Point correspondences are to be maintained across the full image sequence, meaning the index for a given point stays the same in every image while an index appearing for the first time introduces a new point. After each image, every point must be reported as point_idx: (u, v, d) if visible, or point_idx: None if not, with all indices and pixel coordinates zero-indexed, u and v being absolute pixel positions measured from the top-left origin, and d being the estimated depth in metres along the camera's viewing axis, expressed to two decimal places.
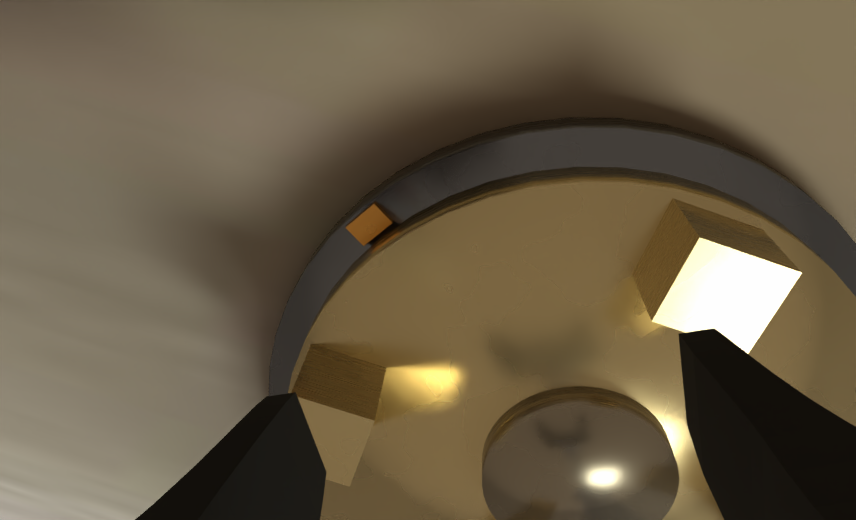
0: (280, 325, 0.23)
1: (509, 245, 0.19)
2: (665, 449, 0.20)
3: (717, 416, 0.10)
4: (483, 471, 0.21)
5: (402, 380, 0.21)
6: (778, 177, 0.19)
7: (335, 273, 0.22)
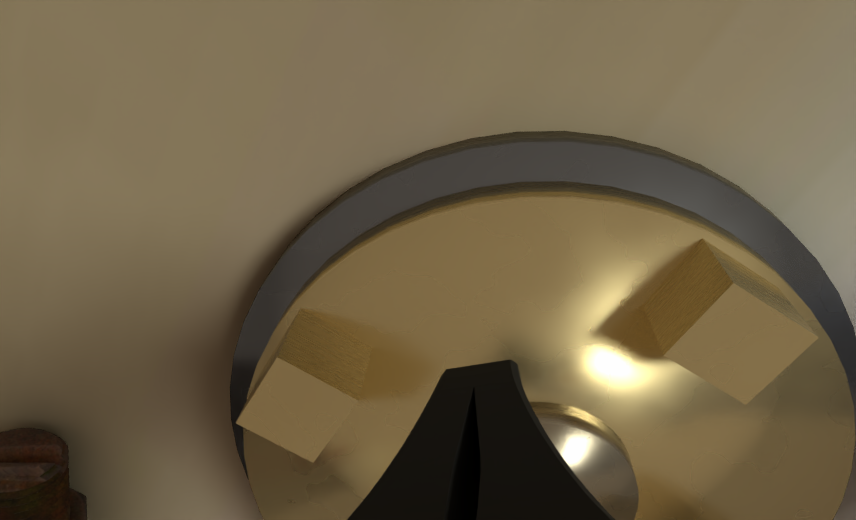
0: None
1: (291, 480, 0.23)
2: None
3: None
4: None
5: None
6: (290, 250, 0.21)
7: None
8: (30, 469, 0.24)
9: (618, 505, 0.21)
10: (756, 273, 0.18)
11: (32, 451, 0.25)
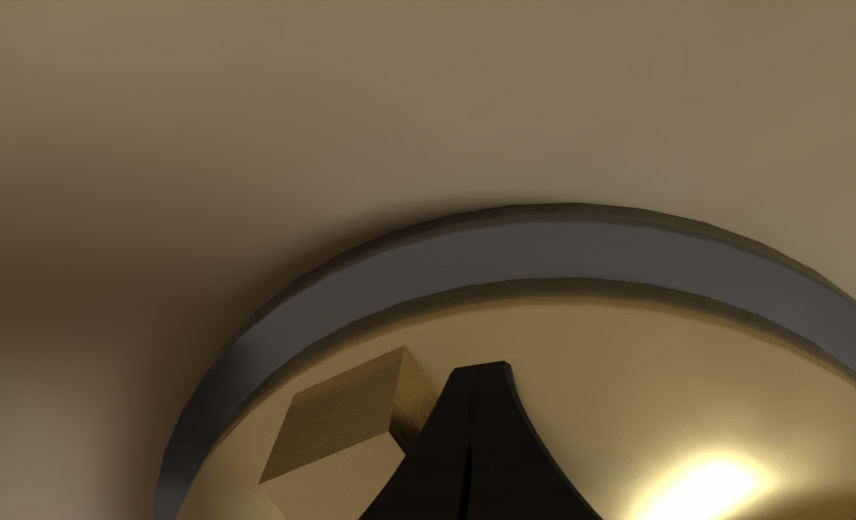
0: None
1: None
2: None
3: None
4: None
5: None
6: (408, 249, 0.14)
7: None
8: None
9: None
10: None
11: None
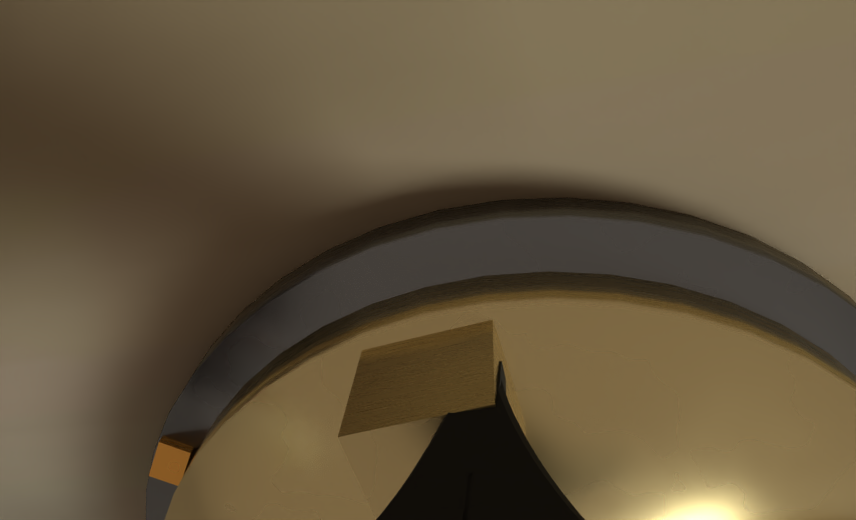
0: None
1: (257, 487, 0.15)
2: None
3: None
4: None
5: None
6: (595, 222, 0.14)
7: None
8: None
9: None
10: None
11: None
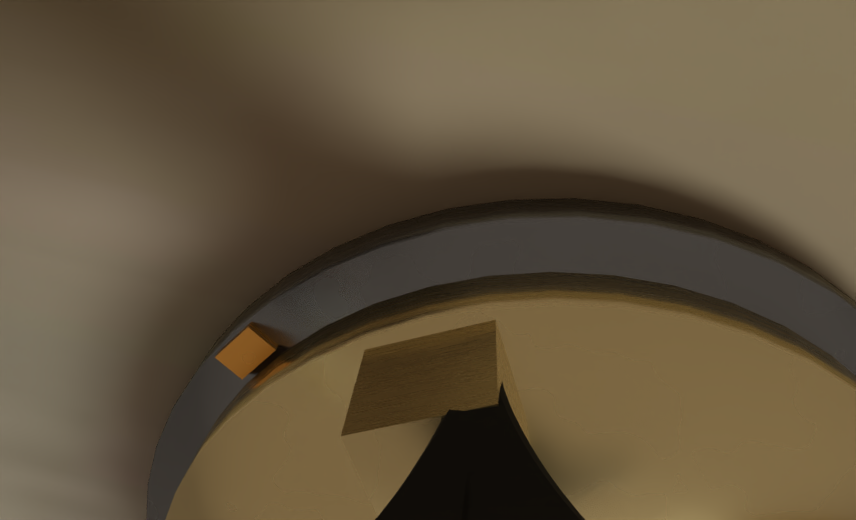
0: (152, 474, 0.17)
1: (258, 486, 0.15)
2: None
3: None
4: None
5: None
6: (799, 276, 0.14)
7: (212, 410, 0.16)
8: None
9: None
10: None
11: None
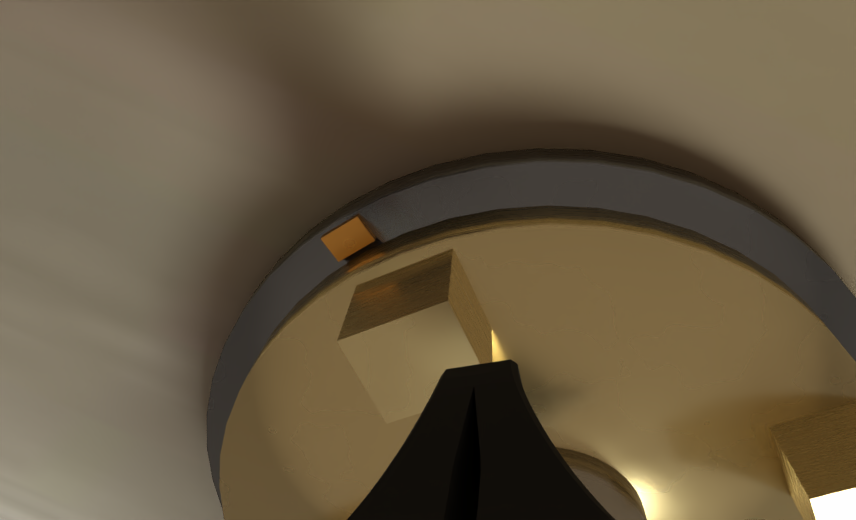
0: (230, 336, 0.20)
1: (291, 409, 0.19)
2: None
3: None
4: None
5: None
6: (807, 248, 0.17)
7: (301, 286, 0.19)
8: None
9: None
10: None
11: None
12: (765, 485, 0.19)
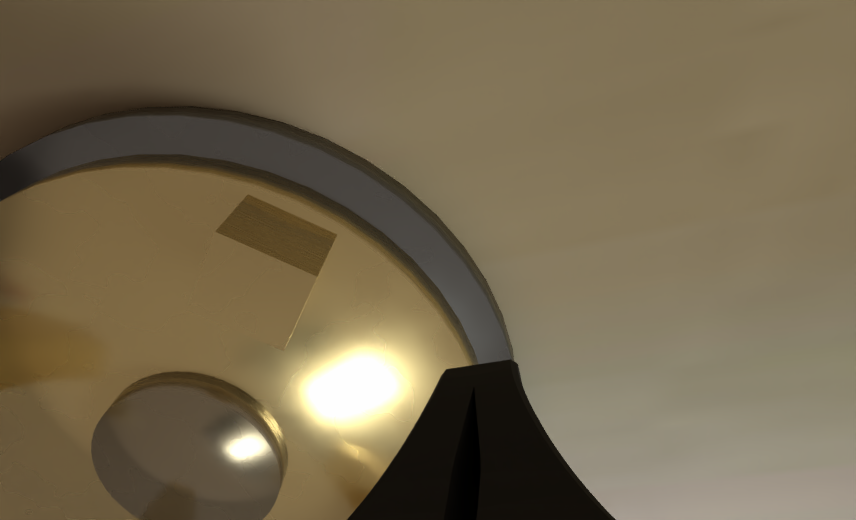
0: None
1: None
2: (130, 401, 0.20)
3: None
4: None
5: None
6: (144, 118, 0.19)
7: None
8: None
9: (259, 466, 0.21)
10: (310, 223, 0.18)
11: None
12: None
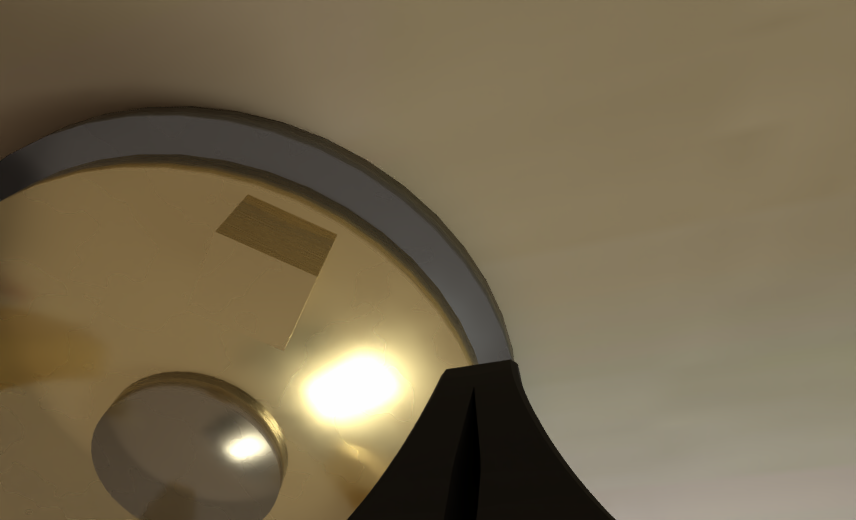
0: None
1: None
2: (130, 401, 0.20)
3: None
4: None
5: None
6: (144, 118, 0.19)
7: None
8: None
9: (259, 466, 0.21)
10: (310, 223, 0.18)
11: None
12: None
